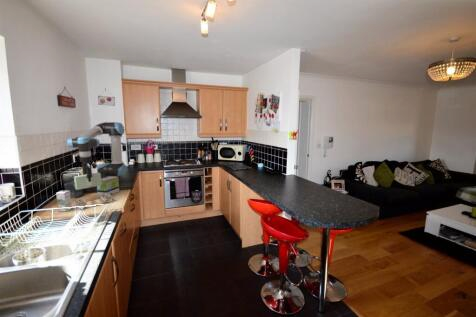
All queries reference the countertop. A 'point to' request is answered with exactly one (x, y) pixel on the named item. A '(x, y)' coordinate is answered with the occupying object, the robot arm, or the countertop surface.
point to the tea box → (108, 185)
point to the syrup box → (63, 200)
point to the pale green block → (82, 181)
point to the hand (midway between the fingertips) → (88, 184)
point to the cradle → (95, 201)
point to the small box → (73, 190)
